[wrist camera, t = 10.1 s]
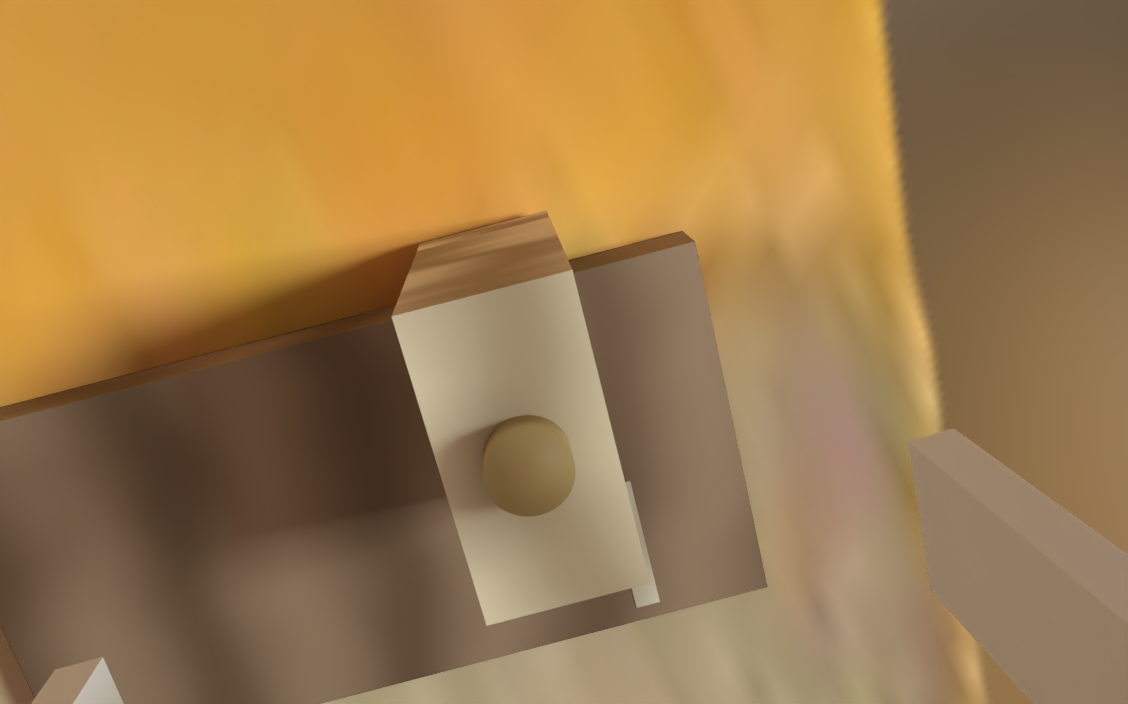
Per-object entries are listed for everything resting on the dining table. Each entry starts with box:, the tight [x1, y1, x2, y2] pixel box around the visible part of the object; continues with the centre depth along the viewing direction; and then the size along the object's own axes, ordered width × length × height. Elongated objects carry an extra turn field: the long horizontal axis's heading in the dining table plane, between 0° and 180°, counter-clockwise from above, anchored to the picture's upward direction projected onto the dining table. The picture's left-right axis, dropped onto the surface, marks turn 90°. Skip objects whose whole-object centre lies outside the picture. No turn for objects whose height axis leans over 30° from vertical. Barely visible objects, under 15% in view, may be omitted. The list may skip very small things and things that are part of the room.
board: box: [0, 231, 767, 704], centre depth 32 cm, size 24×12×2 cm, turn 104°
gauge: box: [391, 211, 650, 626], centre depth 26 cm, size 4×8×10 cm, turn 14°
